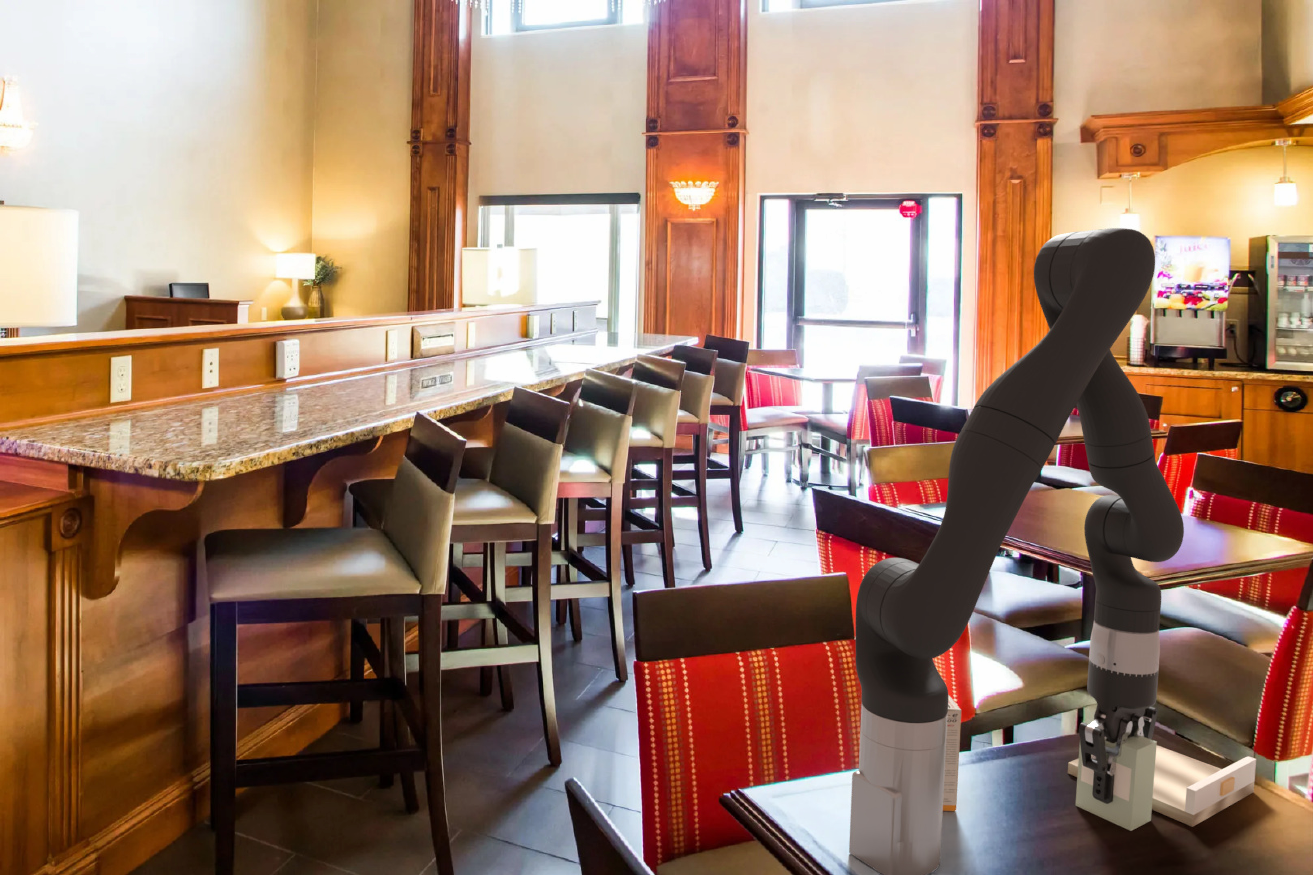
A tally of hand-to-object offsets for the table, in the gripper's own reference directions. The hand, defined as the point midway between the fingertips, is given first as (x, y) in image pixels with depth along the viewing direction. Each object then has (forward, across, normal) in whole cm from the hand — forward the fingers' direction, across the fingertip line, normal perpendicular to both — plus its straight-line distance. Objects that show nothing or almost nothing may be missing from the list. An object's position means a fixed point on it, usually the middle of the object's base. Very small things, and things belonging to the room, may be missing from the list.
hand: (1114, 794), depth 109 cm
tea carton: (+2, 0, 0) cm, 2 cm away
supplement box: (+3, -16, +15) cm, 22 cm away
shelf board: (+2, +13, +1) cm, 13 cm away
